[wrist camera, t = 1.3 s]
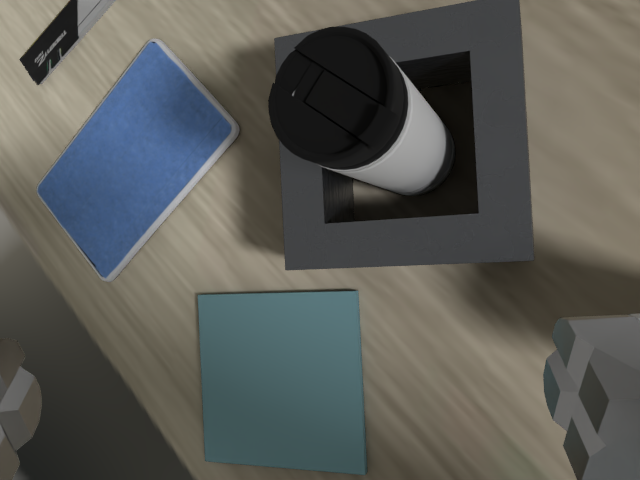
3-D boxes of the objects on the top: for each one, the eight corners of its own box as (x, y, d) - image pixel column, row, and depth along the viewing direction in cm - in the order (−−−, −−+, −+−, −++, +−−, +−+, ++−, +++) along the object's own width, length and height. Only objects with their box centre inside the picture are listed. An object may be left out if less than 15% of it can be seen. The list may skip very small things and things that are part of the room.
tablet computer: (112, 286, 55) (102, 287, 54) (39, 190, 58) (28, 189, 57) (247, 131, 50) (240, 128, 49) (160, 36, 53) (151, 31, 52)
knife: (113, -58, 53) (136, -28, 53) (120, -53, 54) (143, -23, 53) (15, 57, 57) (35, 88, 57) (23, 61, 58) (43, 90, 57)
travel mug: (427, 214, 44) (346, 195, 25) (357, 167, 46) (233, 115, 27) (477, 143, 43) (430, 67, 24) (403, 97, 45) (306, -7, 26)
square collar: (521, 31, 42) (518, -8, 35) (534, 257, 42) (533, 260, 35) (310, 66, 47) (274, 38, 41) (320, 266, 47) (285, 270, 41)
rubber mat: (358, 290, 46) (355, 291, 45) (367, 472, 46) (365, 475, 45) (201, 294, 51) (197, 295, 50) (208, 458, 51) (205, 461, 50)
